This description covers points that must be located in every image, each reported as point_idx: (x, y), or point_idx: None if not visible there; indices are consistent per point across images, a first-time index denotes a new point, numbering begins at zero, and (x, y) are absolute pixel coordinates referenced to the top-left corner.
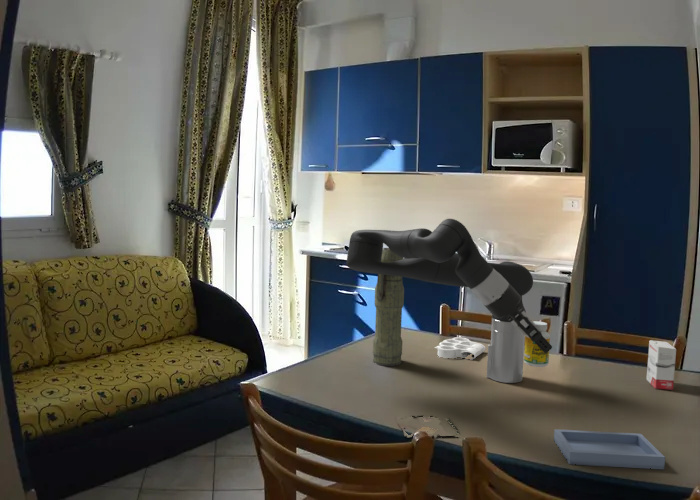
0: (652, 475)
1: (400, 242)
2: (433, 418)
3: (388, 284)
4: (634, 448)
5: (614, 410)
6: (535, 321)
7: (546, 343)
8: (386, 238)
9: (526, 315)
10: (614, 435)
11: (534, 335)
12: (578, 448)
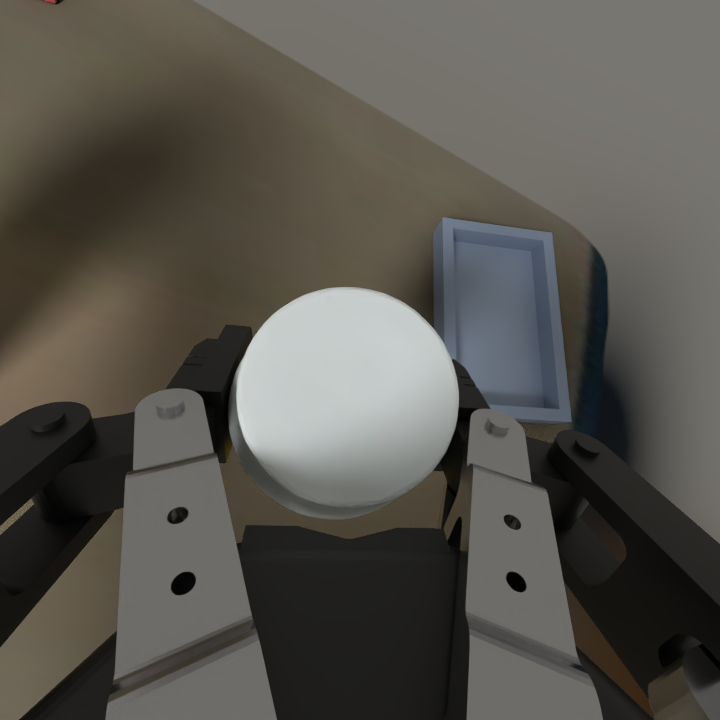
0: (562, 279)
1: None
2: None
3: None
4: (467, 256)
5: (223, 184)
6: (258, 394)
7: (473, 384)
8: None
9: (574, 678)
10: (453, 277)
11: (583, 508)
12: (488, 378)
